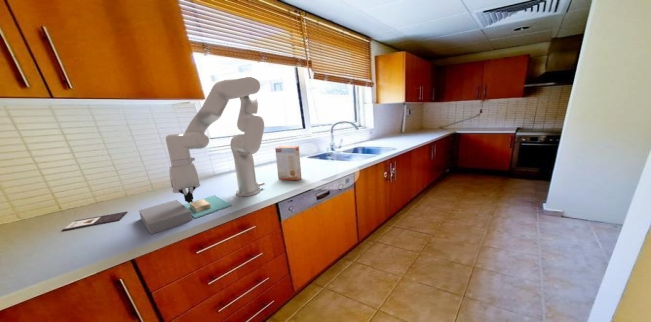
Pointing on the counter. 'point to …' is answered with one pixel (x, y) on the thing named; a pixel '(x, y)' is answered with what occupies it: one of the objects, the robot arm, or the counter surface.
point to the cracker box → (288, 162)
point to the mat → (214, 202)
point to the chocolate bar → (95, 221)
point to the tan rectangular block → (200, 205)
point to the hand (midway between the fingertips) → (189, 201)
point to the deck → (165, 216)
